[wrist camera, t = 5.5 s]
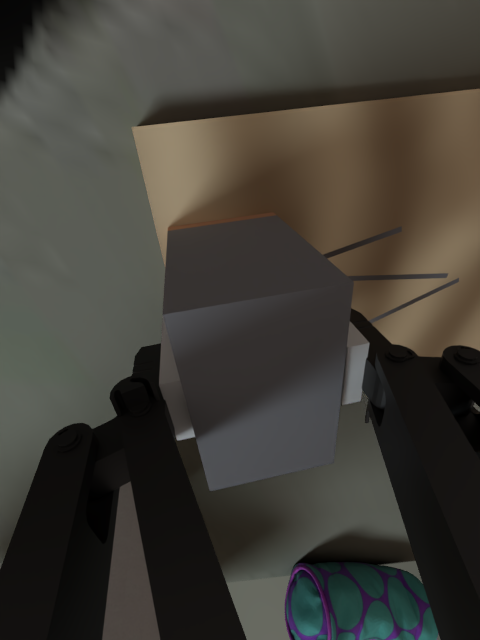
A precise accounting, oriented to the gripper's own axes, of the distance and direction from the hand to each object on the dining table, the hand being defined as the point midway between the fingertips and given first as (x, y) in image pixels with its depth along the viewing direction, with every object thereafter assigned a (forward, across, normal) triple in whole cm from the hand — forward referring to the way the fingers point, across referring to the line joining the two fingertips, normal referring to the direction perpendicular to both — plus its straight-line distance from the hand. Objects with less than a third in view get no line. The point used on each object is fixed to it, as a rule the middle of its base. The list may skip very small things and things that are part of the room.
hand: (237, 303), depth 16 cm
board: (+2, +8, 0) cm, 8 cm away
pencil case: (+3, +11, -46) cm, 48 cm away
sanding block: (+1, 0, 0) cm, 1 cm away
